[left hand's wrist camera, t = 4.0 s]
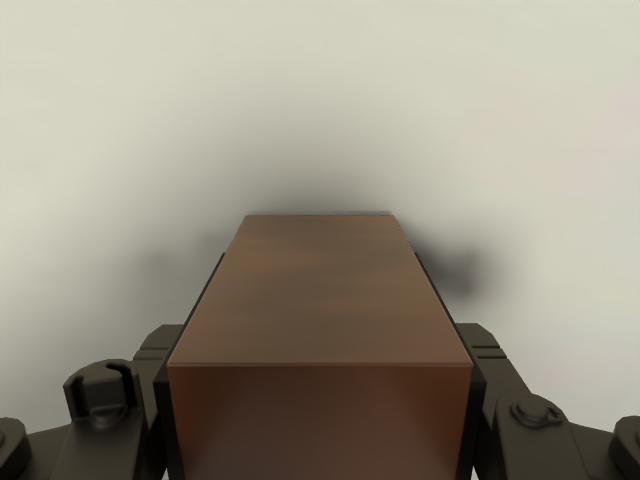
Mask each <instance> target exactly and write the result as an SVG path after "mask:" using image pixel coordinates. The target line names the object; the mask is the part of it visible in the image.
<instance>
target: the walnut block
mask: <svg viewBox="0 0 640 480" xmlns="http://www.w3.org/2000/svg"><path fill="white" fill-rule="evenodd" d="M166 366H167V373H168V379H169V386H170V392H171V399H172V405H173V412H174V418H175V425H176V431H177V438H178V444H179V451H180V458H181V464H182V471H183V477H184V480H456V475H457V469H458V462H459V456H460V449H461V442H462V436H463V429H464V423H465V416H466V410H467V403H468V397H469V390H470V384H471V377H472V370H473V363H472V361H471V359H470V357H469V355H468V354H467V352H466V350H465V348H464V346H463V344H462V342H461V340H460V339H459V337H458V335H457V333H456V331H455V329H454V327H453V325H452V324H451V322H450V320H449V318H448V316H447V314H446V312H445V310H444V309H443V307H442V305H441V303H440V301H439V299H438V297H437V295H436V294H435V292H434V290H433V288H432V286H431V284H430V282H429V280H428V278H427V277H426V275H425V273H424V271H423V269H422V267H421V265H420V263H419V262H418V260H417V258H416V256H415V254H414V252H413V250H412V248H411V247H410V245H409V243H408V241H407V239H406V237H405V235H404V233H403V232H402V230H401V228H400V226H399V224H398V222H397V220H396V218H395V217H394V216H245V218H244V220H243V222H242V224H241V226H240V228H239V229H238V231H237V233H236V235H235V237H234V239H233V241H232V243H231V244H230V246H229V248H228V250H227V252H226V254H225V256H224V258H223V259H222V261H221V263H220V265H219V267H218V269H217V271H216V272H215V274H214V276H213V278H212V280H211V282H210V284H209V286H208V287H207V289H206V291H205V293H204V295H203V297H202V299H201V301H200V302H199V304H198V306H197V308H196V310H195V312H194V314H193V316H192V317H191V319H190V321H189V323H188V325H187V327H186V329H185V330H184V332H183V334H182V336H181V338H180V340H179V342H178V344H177V345H176V347H175V349H174V351H173V353H172V355H171V357H170V359H169V360H168V362H167V365H166Z"/></svg>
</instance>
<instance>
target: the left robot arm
mask: <svg viewBox="0 0 640 480" xmlns="http://www.w3.org/2000/svg"><path fill="white" fill-rule="evenodd" d="M225 254H226V253H223V254H222V256H221V258H220V260H219V262H218V263H217V265H216V267H215V269H214V271H213V273H212V274H211V276H210V278H209V280H208V282H207V284H206V285H205V287H204V289H203V291H202V293H201V294H200V296H199V298H198V300H197V302H196V304H195V305H194V307H193V309H192V311H191V313H190V315H189V316H188V318H187V320H186V322H185V324H184V325H162V326H160V327H159V328H157V329H156V330H155V331H153V332H152V333H151V334H149V335H148V336H147V338H146V339H145V341H144V342H143V344H142V345H141V347H140V350H138V351H137V353H136V354H135V356H134V357H133V360H131V361H127V360H123V359H108V360H104V361H100V362H95V363H93V364H90V365H88V366H86V367H84V368H81V369H80V370H78V371H77V372H76V373H74V374H73V375H72V376H70V377H69V378H68V380H67V381H66V382H65V384H64V385H63V389H64V393H65V396H66V400H67V404H68V408H69V412H70V416H71V419H72V422H71V424H68V425H65V426H62V427H58V428H54V429H50V430H45V431H41V432H37V433H32V434H28V435H27V433H26V429H25V426H24V424H23V423H21V422H20V421H19V420H18V419H13V418H7V417H6V418H0V480H162V478H163V475H164V473H165V470H166V468H167V471H168V477H169V480H184V477H183V471H182V464H181V458H180V451H179V444H178V438H177V431H176V425H175V418H174V412H173V405H172V399H171V392H170V386H169V379H168V373H167V366H166V365H167V362H168V360H169V359H170V357H171V355H172V353H173V351H174V349H175V347H176V345H177V344H178V342H179V340H180V338H181V336H182V334H183V332H184V330H185V329H186V327H187V325H188V323H189V321H190V319H191V317H192V316H193V314H194V312H195V310H196V308H197V306H198V304H199V302H200V301H201V299H202V297H203V295H204V293H205V291H206V289H207V287H208V286H209V284H210V282H211V280H212V278H213V276H214V274H215V272H216V271H217V269H218V267H219V265H220V263H221V261H222V259H223V258H224V256H225ZM414 254H415V256H416V258H417V260H418V262H419V263H420V265H421V267H422V269H423V271H424V273H425V275H426V277H427V278H428V280H429V282H430V284H431V286H432V288H433V290H434V292H435V294H436V295H437V297H438V299H439V301H440V303H441V305H442V307H443V309H444V310H445V312H446V314H447V316H448V318H449V320H450V322H451V324H452V325H453V327H454V329H455V331H456V333H457V335H458V337H459V339H460V340H461V342H462V344H463V346H464V348H465V350H466V352H467V354H468V355H469V357H470V359H471V361H472V363H473V370H472V377H471V384H470V390H469V397H468V403H467V410H466V416H465V423H464V429H463V436H462V442H461V449H460V456H459V462H458V469H457V475H456V480H471V476H472V470H473V466H474V469H475V471H476V474H477V476H478V479H479V480H640V416H628V417H623V418H621V419H620V420H619V421H618V422H617V423H616V425H615V428H614V432H613V433H611V432H607V431H602V430H598V429H594V428H589V427H585V426H581V425H577V424H574V423H571V422H569V421H568V419H567V418H566V416H565V415H564V413H563V412H562V410H561V409H559V408H558V407H557V406H556V405H554V404H553V403H552V402H550V401H548V400H547V399H545V398H543V397H541V396H539V395H535V394H532V393H531V392H530V390H529V389H528V387H527V386H526V384H525V383H524V381H523V380H522V378H521V377H520V375H519V374H518V372H517V371H516V369H515V368H514V366H513V365H512V363H511V362H510V360H509V359H507V356H506V354H505V353H504V351H503V350H502V349H500V345H499V344H498V342H497V341H496V339H495V338H494V336H493V335H492V334H491V333H490V332H488V331H487V330H486V329H484V328H483V327H482V326H480V325H479V324H477V323H455V322H454V321H453V319H452V317H451V315H450V313H449V311H448V310H447V308H446V306H445V304H444V302H443V300H442V299H441V297H440V295H439V293H438V291H437V290H436V288H435V286H434V284H433V282H432V280H431V279H430V277H429V275H428V273H427V271H426V269H425V268H424V266H423V264H422V262H421V260H420V258H419V257H418V255H417V253H414Z"/></svg>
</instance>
